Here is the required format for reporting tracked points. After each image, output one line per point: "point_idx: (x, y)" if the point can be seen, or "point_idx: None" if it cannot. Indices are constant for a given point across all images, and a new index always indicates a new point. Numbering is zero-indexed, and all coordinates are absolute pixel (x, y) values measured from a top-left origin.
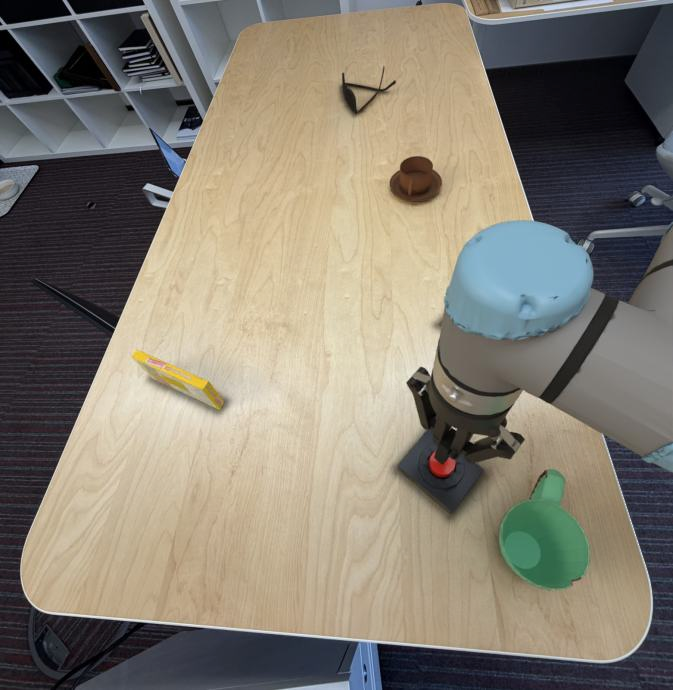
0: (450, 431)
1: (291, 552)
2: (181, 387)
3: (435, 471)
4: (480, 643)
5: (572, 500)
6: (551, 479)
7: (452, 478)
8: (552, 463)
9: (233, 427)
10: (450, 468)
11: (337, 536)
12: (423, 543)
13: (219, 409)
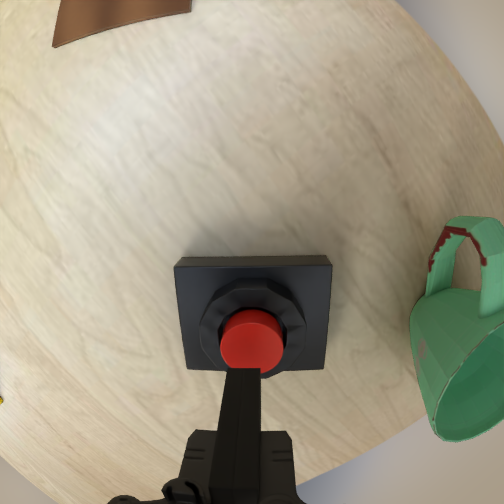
0: (216, 496)
1: None
2: None
3: None
4: (416, 420)
5: (467, 187)
6: (496, 265)
7: (290, 346)
8: (419, 142)
9: (24, 410)
10: (275, 351)
11: None
12: (306, 405)
13: (2, 401)
